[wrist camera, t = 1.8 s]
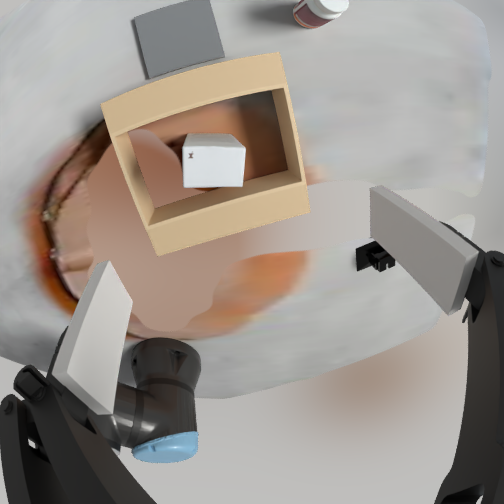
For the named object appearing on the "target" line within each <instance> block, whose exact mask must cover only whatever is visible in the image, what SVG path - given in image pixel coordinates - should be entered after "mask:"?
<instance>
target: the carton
mask: <svg viewBox="0 0 504 504" xmlns="http://www.w3.org/2000/svg"><path fill="white" fill-rule="evenodd" d="M267 90H271V91H272V95H273V99H274V104H275V108H276V113H277V117H278V122H279V127H280V132H281V136H282V141H283V146H284V151H285V156H286V161H287V167H288V170H286V171H282V172H278V173H274V174H270V175H266V176H262V177H258V178H255V179H251V180H247V181H244V182H243V186H242V187H222V188H219V189H215V190H212V191H209V192H205V193H202V194H199V195H195V196H192V197H189V198H186V199H183V200H179V201H176V202H173V203H171V204H167V205H164V206H161V207H158V208H154V205H153V203H152V200H151V198H150V195H149V192H148V189H147V187H146V184H145V181H144V179H143V176H142V173H141V170H140V167H139V165H138V162H137V159H136V156H135V153H134V150H133V147H132V144H131V141H130V138H129V135H128V132H127V131H130V130H132V129H135V128H137V127H140V126H143V125H145V124H148V123H151V122H153V121H156V120H159V119H162V118H165V117H168V116H170V115H173V114H177V113H180V112H183V111H186V110H189V109H193V108H196V107H199V106H203V105H207V104H210V103H214V102H218V101H222V100H226V99H230V98H234V97H238V96H243V95H247V94H252V93H257V92H262V91H267ZM100 105H101V108H102V112H103V115H104V118H105V122H106V125H107V128H108V131H109V134H110V137H111V140H112V143H113V146H114V149H115V152H116V155H117V158H118V160H119V163H120V166H121V169H122V172H123V174H124V177H125V180H126V182H127V185H128V187H129V190H130V192H131V195H132V198H133V200H134V203H135V205H136V208H137V210H138V213H139V215H140V217H141V220H142V222H143V224H144V227H145V229H146V231H147V234H148V236H149V238H150V241H151V243H152V245H153V247H154V249H155V252H156V254H157V256H160V255H164V254H167V253H171V252H174V251H177V250H180V249H184V248H187V247H190V246H194V245H197V244H200V243H204V242H207V241H210V240H214V239H217V238H221V237H224V236H228V235H231V234H235V233H238V232H242V231H245V230H249V229H252V228H255V227H259V226H262V225H266V224H270V223H273V222H277V221H280V220H284V219H288V218H291V217H295V216H298V215H302V214H306V213H309V212H310V206H309V199H308V193H307V185H306V179H305V173H304V167H303V161H302V155H301V150H300V144H299V139H298V133H297V128H296V123H295V118H294V113H293V108H292V103H291V99H290V94H289V90H288V85H287V81H286V76H285V72H284V68H283V64H282V60H281V56H280V52H276V53H268V54H262V55H255V56H250V57H244V58H239V59H234V60H229V61H225V62H220V63H216V64H212V65H208V66H204V67H200V68H196V69H193V70H189V71H186V72H182V73H179V74H176V75H173V76H170V77H167V78H164V79H161V80H158V81H155V82H152V83H149V84H147V85H144V86H141V87H139V88H136V89H134V90H131V91H129V92H126V93H124V94H122V95H119V96H117V97H115V98H113V99H110V100H108V101H106V102H104V103H102V104H100Z"/></svg>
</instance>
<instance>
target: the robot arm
mask: <svg viewBox="0 0 504 504" xmlns="http://www.w3.org/2000/svg"><path fill="white" fill-rule="evenodd" d="M370 210H371V211H370V226H371V228H370V235H371V237H372V238H373V239H374V240H376V241H377V242H378V243H379V244H380V245H381V246H382V247H383V248H384V249H385V250H386V251H387V252H388V253H389V254H390V255H391V256H392V257H393V258H394V259H395V260H396V261H397V262H398V263H399V264H400V265H401V266H402V267H403V268H404V269H405V270H406V271H407V272H408V273H409V274H410V275H411V276H412V277H413V278H414V279H415V280H416V281H417V282H418V283H419V284H420V285H421V286H422V288H423V289H424V290H425V291H426V292H427V293H428V294H429V295H430V296H431V297H432V298H433V299H434V301H435V302H436V303H437V304H438V305H439V306H440V307H441V308H442V310H443V311H444V312H445V313H446V314H447V315H448V316H449V315H451V314H453V313H455V312H456V311H458V310H460V309H461V307H462V304H463V301H464V298H466V299H467V300H468V301H469V305H468V308H467V310H466V312H465V315H464V317H463V320H462V323H464V322H465V320H466V318H467V317H468V371H467V385H466V395H465V404H464V412H463V418H462V425H461V430H460V436H459V440H458V445H457V449H456V454H455V458H454V462H453V465H452V468H451V470H450V472H449V473H448V475H447V476H446V477H445V479H444V481H443V483H442V484H441V487H440V489H439V492H438V495H437V497H436V500H435V503H434V504H476V502H477V500H478V499H479V498H480V496H482V495H483V498H482V501H481V504H504V254H503V253H501V252H498V251H489V252H487V253H485V252H484V251H483V250H482V249H481V248H479V247H478V246H477V245H475V244H474V243H473V242H472V241H470V240H469V239H468V238H466V237H464V235H462V234H461V233H460V232H457V230H455V229H454V228H453V227H451V226H450V225H448V224H445V223H443V222H440V221H437V220H436V219H434V218H433V217H432V216H430V215H429V214H427V213H426V212H424V211H423V210H421V209H420V208H418V207H416V206H415V205H413V204H412V203H410V202H409V201H407V200H406V199H404V198H402V197H401V196H399V195H397V194H396V193H394V192H393V191H391V190H389V189H387V188H386V187H384V186H382V185H381V186H377V187H372V188H370ZM132 304H133V301H132V300H131V298H130V296H129V295H128V293H127V291H126V289H125V288H124V286H123V284H122V282H121V281H120V279H119V277H118V275H117V273H116V271H115V270H114V268H113V266H112V264H111V262H110V260H107V261H104V262H101V263H98V264H97V265H96V267H95V269H94V271H93V273H92V275H91V277H90V279H89V281H88V283H87V285H86V287H85V289H84V292H83V294H82V296H81V298H80V300H79V303H78V305H77V307H76V310H75V312H74V314H73V317H72V319H71V321H70V324H69V326H67V328H66V329H65V331H64V332H63V333H62V335H61V337H60V339H59V342H58V346H57V347H56V350H55V354H54V355H53V358H52V361H51V364H50V367H49V370H48V373H47V376H46V378H45V377H44V376H43V375H42V374H41V373H40V372H39V371H38V370H37V369H36V368H35V367H34V366H32V365H27V366H25V367H24V368H22V369H21V370H20V371H19V373H18V374H17V376H16V378H15V380H14V390H15V391H16V392H18V393H19V394H20V395H21V396H22V397H23V398H24V399H25V400H22V401H21V400H20V399H18V398H17V397H16V396H15V395H13V394H10V395H7V396H6V397H5V398H4V399H3V400H2V402H1V405H0V449H1V461H2V468H3V476H4V481H5V488H6V492H7V498H8V502H9V504H157V503H156V502H155V501H154V500H153V499H152V498H151V497H150V496H149V495H148V494H147V493H146V491H145V490H144V489H143V488H142V487H141V486H140V484H139V483H138V482H137V481H136V480H135V479H134V477H133V476H132V475H131V474H130V472H129V471H128V470H127V469H126V467H125V466H124V465H123V464H122V462H121V461H120V459H119V458H118V457H117V456H118V455H119V454H120V448H121V446H125V447H128V448H131V449H132V454H133V456H134V457H135V458H136V459H139V460H141V461H145V462H151V463H171V462H179V461H183V460H186V459H189V458H191V457H193V456H194V455H195V454H196V452H197V450H198V432H197V423H196V412H195V400H194V390H195V387H196V384H197V381H198V378H199V375H200V372H201V360H200V356H199V354H198V353H197V352H196V350H195V349H193V348H192V347H191V346H189V345H188V344H186V343H183V342H181V341H178V340H174V339H168V338H154V339H149V340H146V341H143V342H141V343H140V344H138V345H137V346H136V347H135V348H134V350H133V353H132V359H131V365H132V370H133V374H134V378H135V381H136V385H137V388H134V387H131V386H128V385H125V384H122V383H120V382H117V380H118V374H119V368H120V362H121V356H122V351H123V346H124V341H125V336H126V331H127V326H128V322H129V317H130V313H131V308H132ZM28 439H29V440H31V441H33V442H34V443H35V448H33V447H31V446H30V445H29V442H28Z"/></svg>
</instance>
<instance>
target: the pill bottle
mask: <svg viewBox="0 0 504 504" xmlns="http://www.w3.org/2000/svg"><path fill="white" fill-rule="evenodd" d="M348 5H349V2H348V0H301V1H300V2H299V3H298V4H297V5H296V6H295V7H294V9H293V16H294V18H295V20H296V21H297V22H298V23H299V24H300V25H302V26H304V27H306V28H311V29H312V28H318V27H320V26H322V25H324V24H326V23H328V22H329V21H331V20H333V19H335V18H337V17H339V16H340V15H341V13H342V12H343V11H345V10H346V9H347V8H348Z"/></svg>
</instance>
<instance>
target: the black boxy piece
mask: <svg viewBox="0 0 504 504" xmlns="http://www.w3.org/2000/svg"><path fill="white" fill-rule="evenodd" d="M370 238H372V237H370ZM356 261H357V271H360V270H362V269H365V268H367V267H370V266H373V267H374V268H375V270H378V271H379V272H382V271H384V270H386V264H387V263H388V268H391V267H393V266H395V259H394V258H393V257H392V256H391V255H390V254H389V253H388V252H387V251H386V250H385V249H384V248H383V247H382V246H381V245H380V244H379V243H378V242H377V241H373V242H371V243H369V244H366V245H364V246H361V247H359V248H356Z"/></svg>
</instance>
